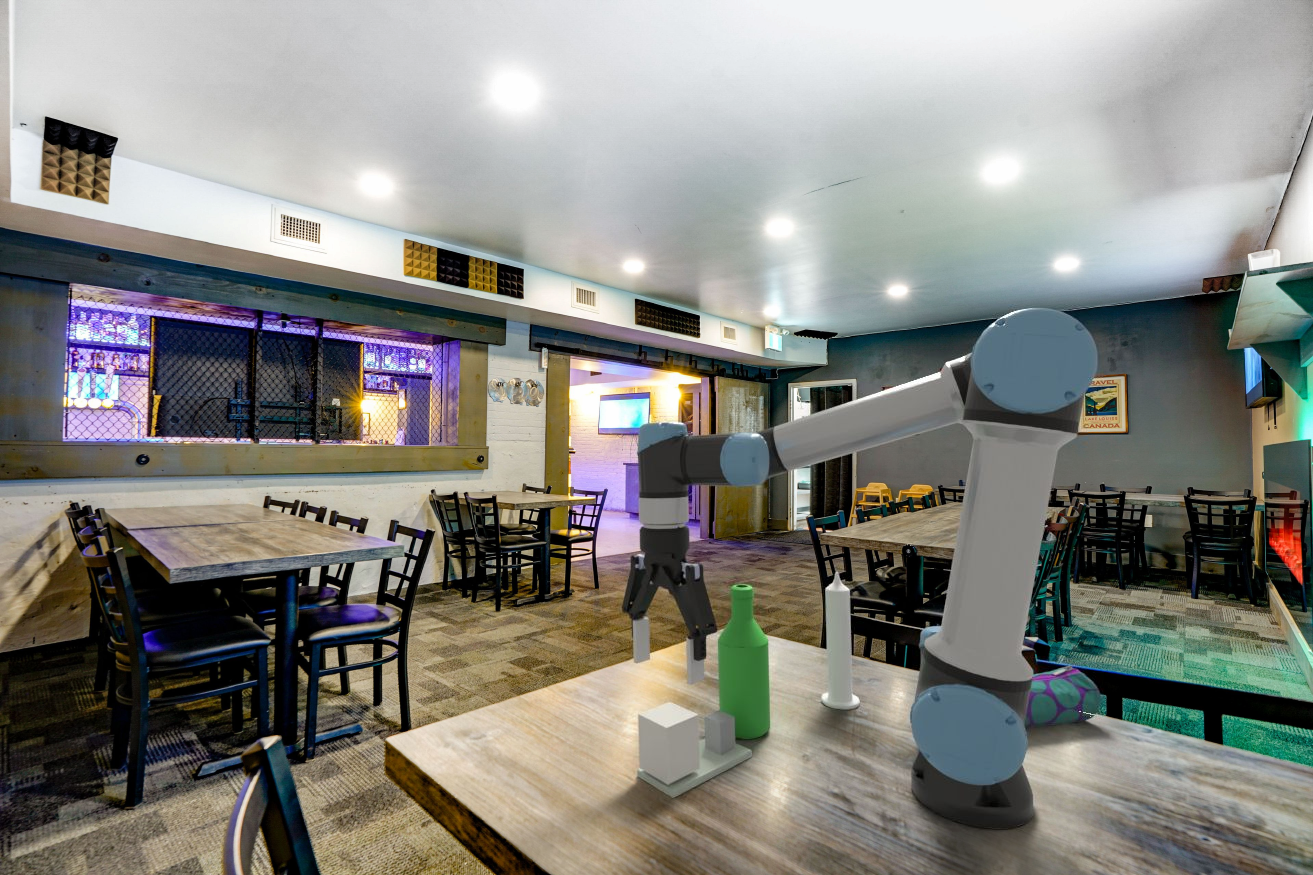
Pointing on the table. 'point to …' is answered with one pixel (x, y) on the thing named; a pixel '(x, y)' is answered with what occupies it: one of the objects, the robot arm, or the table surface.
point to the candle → (839, 648)
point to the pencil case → (1061, 698)
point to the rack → (707, 755)
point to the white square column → (668, 742)
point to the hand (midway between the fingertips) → (667, 670)
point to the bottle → (744, 668)
